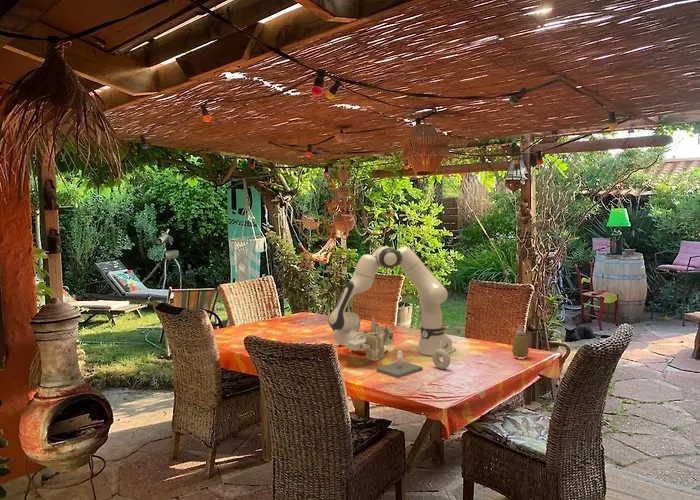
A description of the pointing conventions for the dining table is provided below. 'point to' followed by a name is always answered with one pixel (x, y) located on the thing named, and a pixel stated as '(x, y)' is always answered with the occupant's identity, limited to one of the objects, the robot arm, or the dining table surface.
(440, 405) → the dining table surface
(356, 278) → the robot arm
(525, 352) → the squeeze bottle
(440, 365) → the donut
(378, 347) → the sleeve
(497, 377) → the dining table surface
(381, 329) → the ceramic cottage
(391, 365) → the post board
